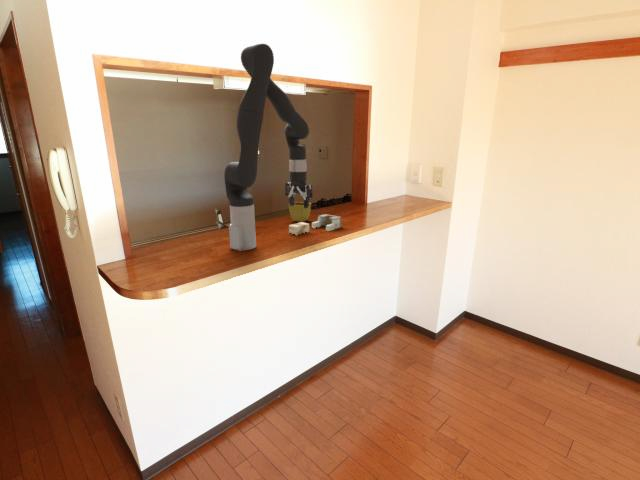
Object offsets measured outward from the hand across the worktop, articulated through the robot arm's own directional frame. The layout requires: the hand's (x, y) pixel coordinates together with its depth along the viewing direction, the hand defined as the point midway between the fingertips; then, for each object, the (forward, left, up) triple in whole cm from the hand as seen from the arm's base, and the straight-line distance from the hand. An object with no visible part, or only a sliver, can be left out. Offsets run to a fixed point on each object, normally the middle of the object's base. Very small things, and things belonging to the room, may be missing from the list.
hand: (299, 206), depth 163 cm
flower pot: (+17, +15, -12) cm, 26 cm away
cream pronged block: (0, 0, -12) cm, 12 cm away
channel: (+15, -4, -12) cm, 19 cm away
